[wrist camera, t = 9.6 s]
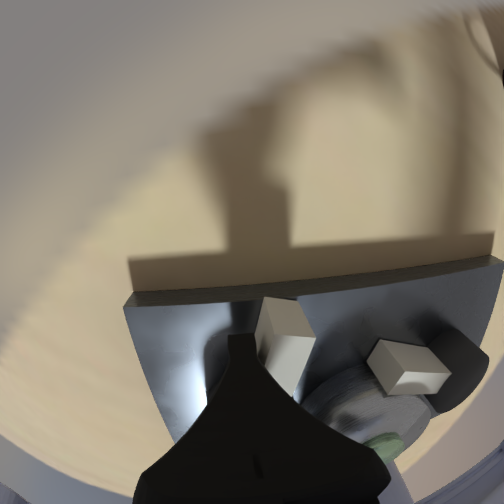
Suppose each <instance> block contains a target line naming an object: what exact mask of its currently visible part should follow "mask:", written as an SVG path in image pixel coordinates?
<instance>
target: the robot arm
mask: <svg viewBox="0 0 504 504" xmlns="http://www.w3.org/2000/svg"><path fill="white" fill-rule="evenodd" d="M228 352H229V361H228V363H227V366H226V368H225V371H224V373H223V375H222V377H221V380H220V382H219V384H218V386H217V388H216V390H215V391H214V393H213V395H212V397H211V398H210V400H209V402H208V403H207V405H206V406H205V408H204V409H203V411H202V412H201V414H200V415H199V416H198V418H197V419H196V421H195V422H194V423H193V425H192V426H191V427H190V428H189V429H188V431H187V432H186V433H185V434H184V435H183V436H182V437H181V438H180V439H179V440H178V442H177V443H176V444H175V445H174V446H173V447H172V448H171V449H170V450H169V451H168V452H167V453H166V454H165V455H164V456H162V457H161V458H160V459H159V460H158V461H156V462H155V463H154V464H153V465H152V466H150V467H149V468H148V469H147V470H145V471H144V472H143V473H142V474H141V476H140V478H139V481H138V483H137V486H136V490H135V492H134V496H133V503H132V504H504V440H503V441H502V442H501V443H500V445H499V446H498V447H497V448H496V449H495V450H493V451H492V452H491V453H490V454H489V455H487V456H486V457H485V458H484V459H482V460H481V461H480V462H479V463H477V464H476V465H475V466H473V467H472V468H471V469H469V470H468V471H467V472H465V473H464V474H462V475H461V476H459V477H458V478H456V479H455V480H453V481H452V482H451V483H449V484H447V485H446V486H444V487H442V488H441V489H439V490H437V491H436V492H434V493H432V494H431V495H429V496H427V497H425V498H423V499H422V500H420V501H418V502H416V503H414V501H413V499H412V498H411V495H410V493H409V491H408V489H407V487H406V485H405V483H404V480H403V478H402V476H401V474H400V472H399V470H398V468H397V466H396V464H395V462H394V460H393V461H391V462H390V463H388V464H386V465H385V464H384V462H383V461H382V459H381V458H380V457H379V455H378V454H377V453H376V451H375V450H374V449H372V448H370V447H368V446H365V445H363V444H361V443H359V442H357V441H355V440H353V439H351V438H349V437H347V436H345V435H343V434H341V433H340V432H338V431H336V430H334V429H333V428H331V427H329V426H328V425H326V424H325V423H324V422H322V421H321V420H319V419H318V418H316V417H315V416H314V415H312V414H311V413H310V412H308V411H307V410H306V409H305V408H303V407H302V406H301V405H300V404H299V403H297V402H296V401H295V400H294V399H293V398H292V397H291V396H290V395H289V394H288V393H287V392H286V391H285V390H284V389H283V388H282V387H281V386H280V385H279V384H278V382H277V381H276V380H275V379H274V378H273V377H272V375H271V374H270V373H269V372H268V370H267V369H266V367H265V366H264V365H263V363H262V362H261V360H260V359H259V357H258V356H257V345H256V339H255V336H254V333H244V334H233V335H228ZM0 504H31V503H29V502H27V501H26V500H25V499H24V498H23V497H22V496H20V495H19V494H17V493H16V492H14V491H13V490H12V489H10V488H8V487H7V486H5V485H3V484H2V483H1V482H0Z"/></svg>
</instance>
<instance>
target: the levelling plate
mask: <svg viewBox="0 0 504 504" xmlns="http://www.w3.org/2000/svg"><path fill="white" fill-rule="evenodd" d="M503 270H504V261H502V260H500V259H498V258H496V257H494V256H492V255H488V256H482V257H476V258H470V259H464V260H458V261H451V262H445V263H438V264H431V265H424V266H417V267H410V268H403V269H395V270H387V271H380V272H372V273H363V274H355V275H346V276H337V277H328V278H318V279H309V280H299V281H288V282H277V283H266V284H254V285H242V286H229V287H215V288H200V289H184V290H166V291H146V292H133V293H132V295H131V296H130V297H129V299H128V300H127V302H126V303H125V305H124V306H123V310H124V314H125V317H126V320H127V324H128V327H129V331H130V334H131V337H132V340H133V343H134V346H135V349H136V352H137V355H138V358H139V361H140V364H141V366H142V369H143V372H144V374H145V377H146V380H147V382H148V385H149V387H150V390H151V392H152V395H153V397H154V399H155V402H156V404H157V407H158V409H159V411H160V413H161V416H162V418H163V420H164V422H165V424H166V426H167V428H168V431H169V433H170V435H171V437H172V439H173V441H174V443H175V444H176V443H177V442H178V440H179V439H180V438H181V437H182V436H183V435H184V434H185V433H186V432H187V431H188V429H189V428H190V427H191V426H192V425H193V423H194V422H195V421H196V419H197V418H198V416H199V415H200V414H201V412H202V411H203V409H204V408H205V406H206V405H207V396H208V393H209V391H210V389H211V388H212V387H213V386H214V385H215V384H216V383H217V382H219V381H220V380H221V377H222V375H223V373H224V371H225V368H226V366H227V363H228V361H229V352H228V335H233V334H244V333H254V335H255V331H256V327H257V323H258V319H259V315H260V311H261V307H262V303H263V299H264V297H271V298H278V299H285V300H293V301H298V302H299V304H300V306H301V308H302V310H303V312H304V314H305V316H306V318H307V320H308V322H309V324H310V326H311V328H312V330H313V332H314V334H315V336H316V340H315V342H314V345H313V348H312V350H311V353H310V355H309V358H308V360H307V363H306V365H305V368H304V370H303V372H302V375H301V377H300V380H299V382H298V384H297V386H296V389H295V391H294V393H293V397H294V400H295V401H296V402H297V403H299V404H300V405H301V406H302V407H303V408H305V409H306V410H307V411H308V412H310V413H311V414H312V415H314V416H315V417H316V418H318V419H319V420H321V421H322V422H324V423H325V424H326V425H328V426H329V427H331V428H333V429H334V430H336V431H338V432H340V433H341V434H343V435H345V436H347V437H349V438H351V439H353V440H355V441H357V442H359V443H361V444H363V445H365V446H368V447H370V448H372V449H374V450H375V451H376V453H377V454H378V455H379V457H380V458H381V459H382V461H383V462H384V464H385V465H386V464H388V463H390V462H391V461H393V460H394V459H395V458H396V457H398V456H399V455H400V454H401V453H402V452H403V451H405V450H406V449H407V448H408V447H410V446H411V445H412V444H413V443H414V442H415V441H416V440H417V439H418V438H419V437H420V435H421V434H422V433H423V432H424V430H425V429H426V427H427V425H428V423H429V421H430V419H432V418H434V417H436V416H438V415H440V414H442V413H437V412H436V411H435V410H434V408H433V407H432V405H431V404H430V403H429V401H428V400H427V399H426V397H425V396H424V395H423V394H415V395H413V394H404V395H388V394H387V393H386V391H385V390H384V388H383V387H382V385H381V383H380V382H379V380H378V379H377V377H376V376H375V374H374V372H373V371H372V369H371V368H370V366H369V365H368V363H367V362H366V361H367V359H368V358H369V356H370V355H371V353H372V352H373V350H374V348H375V347H376V345H377V343H378V342H379V340H380V339H381V340H386V341H392V342H397V343H403V344H409V345H415V346H421V347H427V346H428V345H429V344H430V343H431V342H432V341H433V340H434V339H435V338H436V337H438V336H439V335H440V334H442V333H444V332H445V331H448V330H451V329H458V330H459V331H461V332H462V333H463V334H464V335H465V336H466V337H468V338H469V339H470V340H471V341H472V342H473V343H474V344H475V345H477V346H478V347H480V344H481V342H482V339H483V337H484V334H485V331H486V329H487V326H488V323H489V320H490V317H491V314H492V311H493V308H494V305H495V301H496V298H497V294H498V290H499V287H500V283H501V279H502V274H503Z"/></svg>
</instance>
